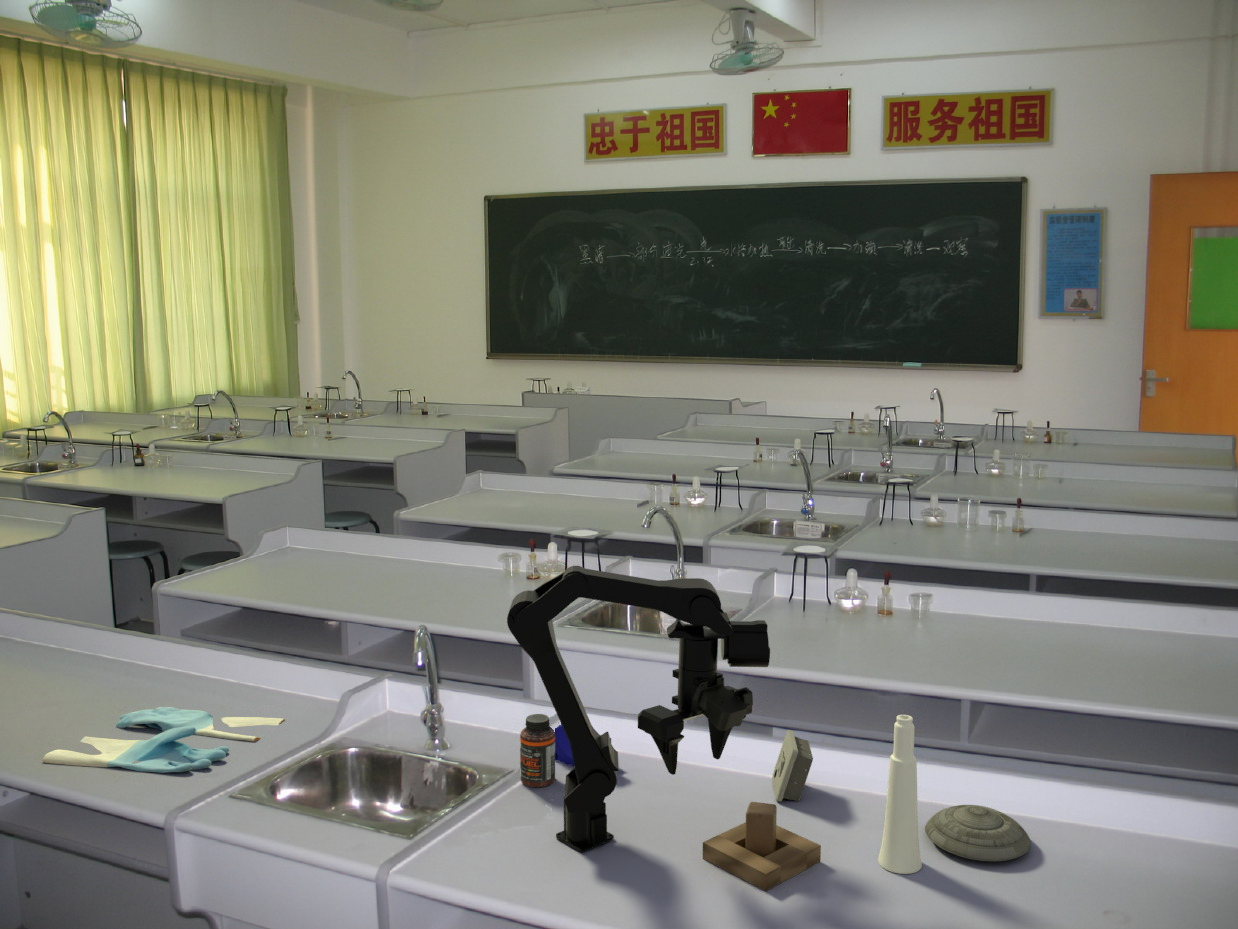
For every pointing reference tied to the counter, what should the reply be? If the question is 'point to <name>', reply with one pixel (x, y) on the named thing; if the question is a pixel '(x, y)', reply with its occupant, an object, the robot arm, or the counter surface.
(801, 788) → the electrical switch
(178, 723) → the rubber gloves
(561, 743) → the cable clip
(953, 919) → the counter surface
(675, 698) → the robot arm
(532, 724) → the supplement bottle
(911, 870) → the cosmetic bottle
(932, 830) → the flying saucer
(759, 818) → the wooden block
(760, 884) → the socket collar
